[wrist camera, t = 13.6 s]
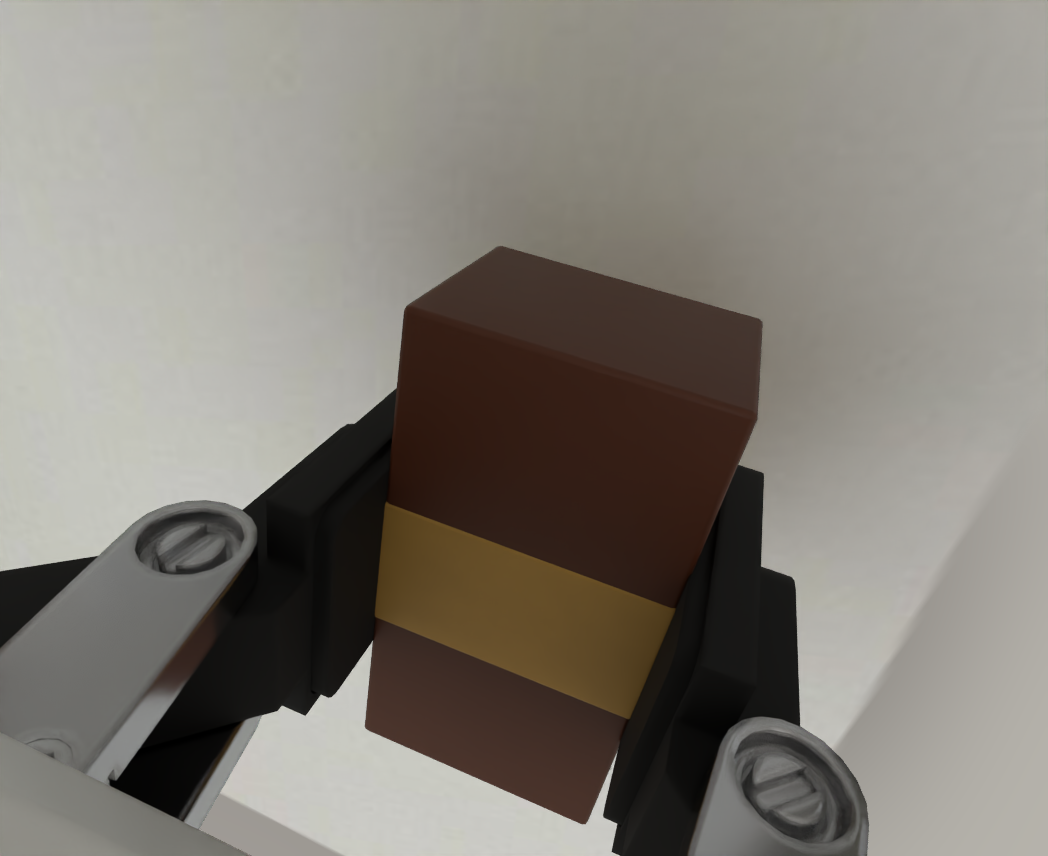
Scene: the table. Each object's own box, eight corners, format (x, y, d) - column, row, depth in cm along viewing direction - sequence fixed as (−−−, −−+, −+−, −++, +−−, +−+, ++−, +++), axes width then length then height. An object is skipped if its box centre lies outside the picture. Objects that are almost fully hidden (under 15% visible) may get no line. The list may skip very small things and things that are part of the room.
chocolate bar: (438, 606, 13) (360, 730, 10) (497, 242, 9) (398, 305, 7) (623, 680, 12) (586, 830, 10) (766, 318, 8) (761, 418, 6)
